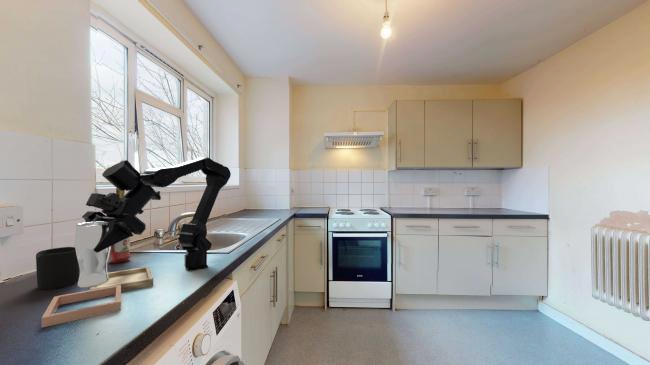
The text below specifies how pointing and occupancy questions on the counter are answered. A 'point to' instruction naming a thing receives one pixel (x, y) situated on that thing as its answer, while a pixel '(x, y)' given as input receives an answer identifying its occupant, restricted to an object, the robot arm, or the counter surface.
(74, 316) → the brown square frame
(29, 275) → the counter surface
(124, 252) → the red and white bottle
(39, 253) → the pen holder
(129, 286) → the tray
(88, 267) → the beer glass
